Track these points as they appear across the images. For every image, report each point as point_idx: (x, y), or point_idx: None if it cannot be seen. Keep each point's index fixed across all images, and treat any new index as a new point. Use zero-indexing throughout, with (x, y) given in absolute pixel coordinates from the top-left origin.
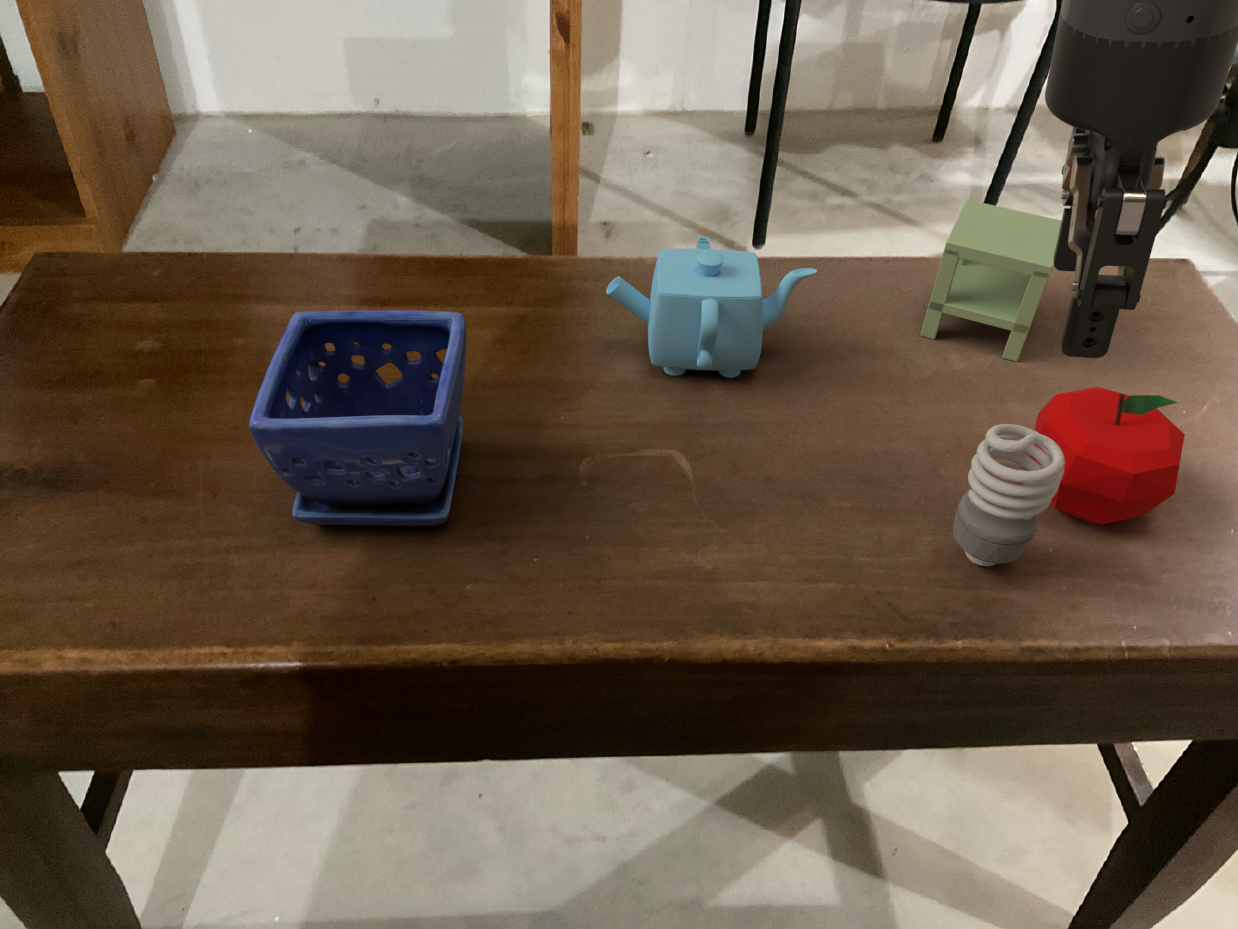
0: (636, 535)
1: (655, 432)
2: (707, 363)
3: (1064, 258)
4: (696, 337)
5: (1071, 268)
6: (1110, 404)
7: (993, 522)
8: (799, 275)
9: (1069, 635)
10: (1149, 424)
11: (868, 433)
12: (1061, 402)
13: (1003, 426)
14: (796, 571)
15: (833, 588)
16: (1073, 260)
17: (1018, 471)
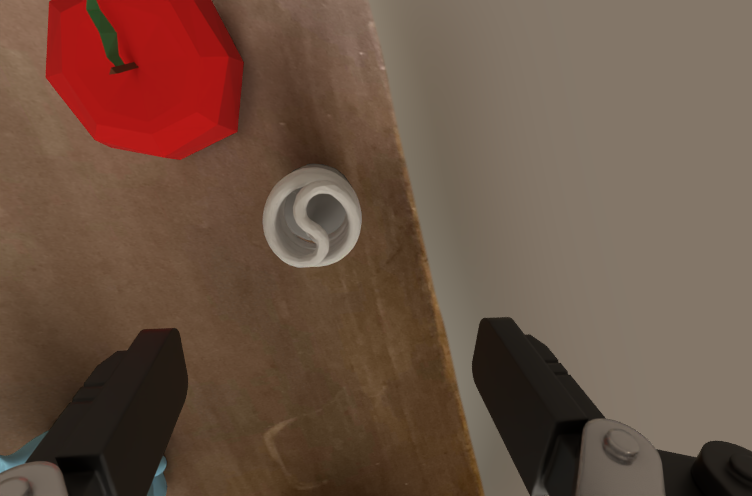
0: (367, 437)
1: (247, 455)
2: (163, 463)
3: (175, 397)
4: None
5: (181, 362)
6: (95, 69)
7: (338, 212)
8: (6, 465)
9: (385, 116)
10: (120, 19)
11: (173, 295)
12: (116, 136)
13: (280, 249)
14: (372, 331)
15: (382, 303)
16: (175, 378)
17: (353, 232)
